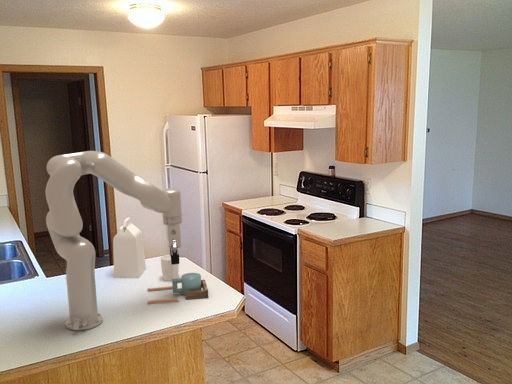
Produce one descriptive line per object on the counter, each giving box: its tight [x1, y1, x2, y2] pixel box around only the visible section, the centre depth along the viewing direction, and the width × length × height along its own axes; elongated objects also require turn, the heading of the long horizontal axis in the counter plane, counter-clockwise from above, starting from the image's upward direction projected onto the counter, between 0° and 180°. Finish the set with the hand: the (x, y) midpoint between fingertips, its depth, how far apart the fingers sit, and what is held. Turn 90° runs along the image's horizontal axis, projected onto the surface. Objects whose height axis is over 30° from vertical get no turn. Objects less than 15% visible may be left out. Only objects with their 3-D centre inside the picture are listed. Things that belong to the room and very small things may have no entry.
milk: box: [112, 217, 147, 279], centre depth 214 cm, size 12×12×26 cm
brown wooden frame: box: [184, 279, 209, 301], centre depth 194 cm, size 12×9×3 cm
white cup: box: [160, 254, 179, 282], centre depth 209 cm, size 8×8×10 cm
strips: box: [146, 285, 179, 305], centre depth 191 cm, size 14×12×1 cm
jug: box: [171, 272, 202, 297], centre depth 192 cm, size 8×12×8 cm
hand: (174, 259), depth 190 cm, fingers open, 9 cm apart
